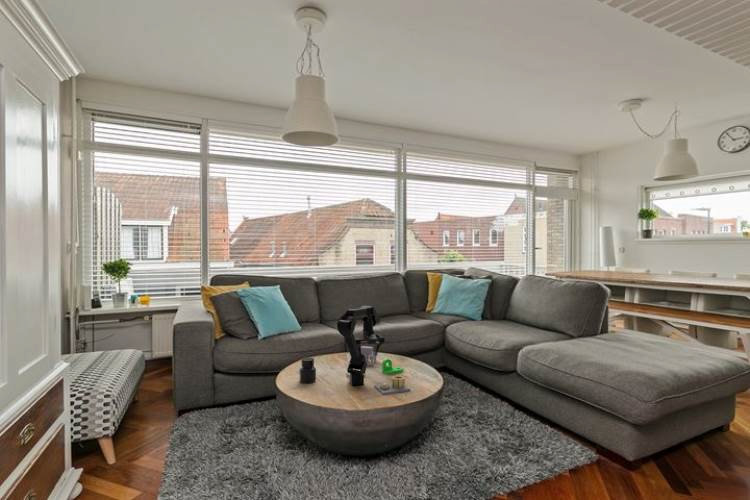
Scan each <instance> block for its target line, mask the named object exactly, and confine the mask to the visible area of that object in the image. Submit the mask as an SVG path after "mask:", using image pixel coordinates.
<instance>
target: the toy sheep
mask: <svg viewBox="0 0 750 500" xmlns="http://www.w3.org/2000/svg"><path fill="white" fill-rule="evenodd" d="M361 354H364V355H365V359H366V363H367V362H369V360H370V363H371V365H370V366H371V367H372V366H374V363H377V357H378V354H377V355H375V351H374V347H373V346H366V345H365V346H364V345H361Z"/></svg>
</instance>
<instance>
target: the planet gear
mask: <svg viewBox="0 0 750 500" xmlns="http://www.w3.org/2000/svg"><path fill="white" fill-rule="evenodd" d="M405 380H406V379H405V376H402V375H394V376H392V377H391V383H392V387H393V388H404V387H405V386H406V384H405V383H406V381H405Z"/></svg>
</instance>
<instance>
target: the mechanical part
mask: <svg viewBox="0 0 750 500" xmlns="http://www.w3.org/2000/svg"><path fill="white" fill-rule="evenodd" d="M381 371H382V373H383V374H386V375H387V376H389V375H394V374H395V375H396V374H400V373H403V372H404V367H401V366H395V367H393V362H392V359H390V358H385V359H383V361H382V364H381Z"/></svg>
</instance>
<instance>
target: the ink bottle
mask: <svg viewBox="0 0 750 500" xmlns="http://www.w3.org/2000/svg"><path fill="white" fill-rule="evenodd" d="M300 365H301V367H300V368H299V376H298V377H299V382H300V383H302V384H303V383H304V384H310V383H311V384H312V383H314V382H316V380H317V368H316V367H315V358H314V357H309V356H308V357H302V358H301V364H300Z"/></svg>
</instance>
